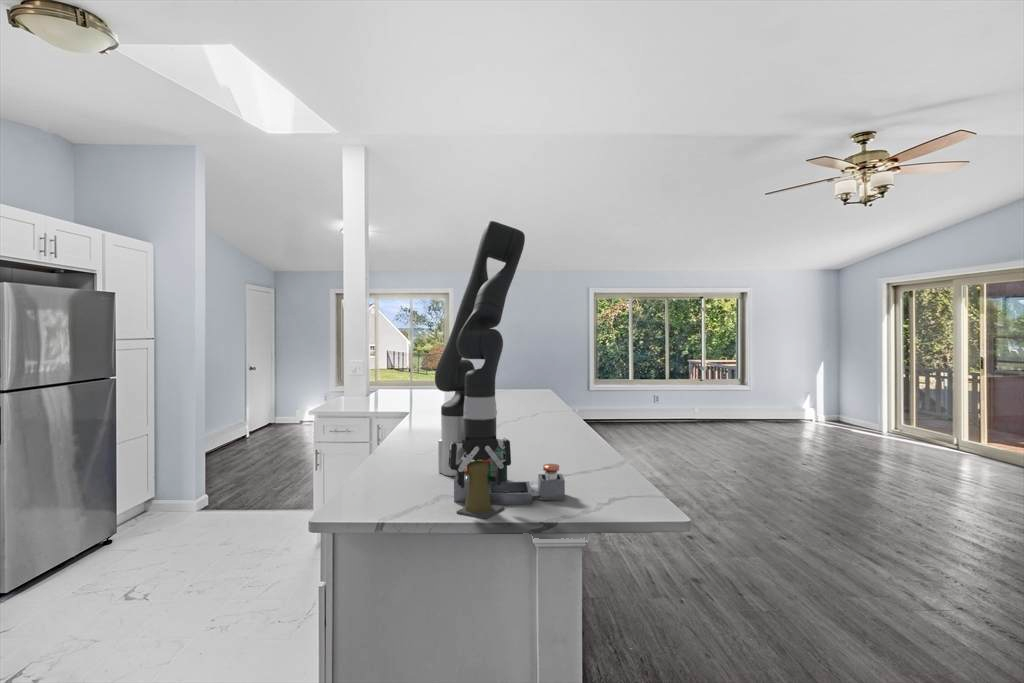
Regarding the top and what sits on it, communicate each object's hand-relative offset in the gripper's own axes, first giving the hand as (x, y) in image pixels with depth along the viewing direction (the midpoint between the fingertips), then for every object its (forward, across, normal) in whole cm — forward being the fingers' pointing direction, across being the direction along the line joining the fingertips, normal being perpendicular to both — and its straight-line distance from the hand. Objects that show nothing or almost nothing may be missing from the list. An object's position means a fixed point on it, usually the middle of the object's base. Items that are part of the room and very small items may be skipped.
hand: (480, 485), depth 124 cm
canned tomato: (+6, -9, -23) cm, 26 cm away
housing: (+6, -9, -8) cm, 13 cm away
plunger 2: (+5, -19, -5) cm, 21 cm away
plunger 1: (+5, +1, -10) cm, 12 cm away
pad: (+6, 0, 0) cm, 6 cm away
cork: (+6, 0, 0) cm, 6 cm away
